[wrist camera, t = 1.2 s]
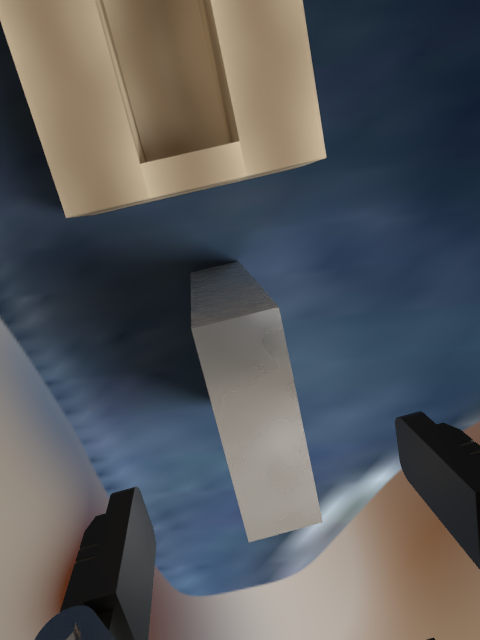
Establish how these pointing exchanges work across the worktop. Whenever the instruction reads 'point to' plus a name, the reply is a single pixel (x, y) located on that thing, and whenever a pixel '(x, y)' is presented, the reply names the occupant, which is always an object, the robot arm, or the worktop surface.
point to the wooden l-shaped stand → (164, 94)
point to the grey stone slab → (253, 400)
